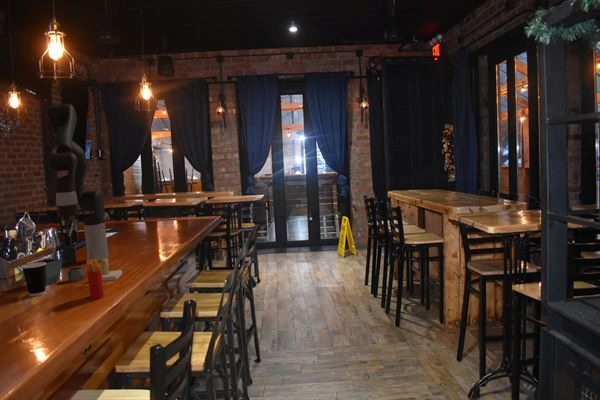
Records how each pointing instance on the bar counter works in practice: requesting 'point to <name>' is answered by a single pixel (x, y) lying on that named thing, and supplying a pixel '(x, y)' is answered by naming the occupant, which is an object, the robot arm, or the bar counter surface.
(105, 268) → the stand
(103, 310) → the bar counter surface
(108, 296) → the bar counter surface
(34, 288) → the dixie cup
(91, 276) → the french fries
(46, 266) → the flower pot
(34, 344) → the bar counter surface
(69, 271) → the ring
